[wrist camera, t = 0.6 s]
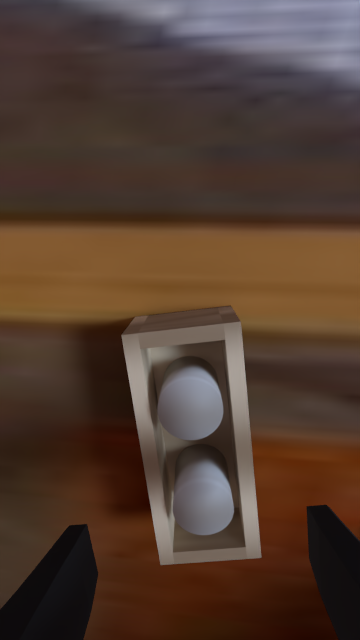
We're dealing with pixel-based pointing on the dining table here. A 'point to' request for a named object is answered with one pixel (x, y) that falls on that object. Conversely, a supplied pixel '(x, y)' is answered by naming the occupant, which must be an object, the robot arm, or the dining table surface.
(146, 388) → the tray
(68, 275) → the dining table surface
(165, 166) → the dining table surface
